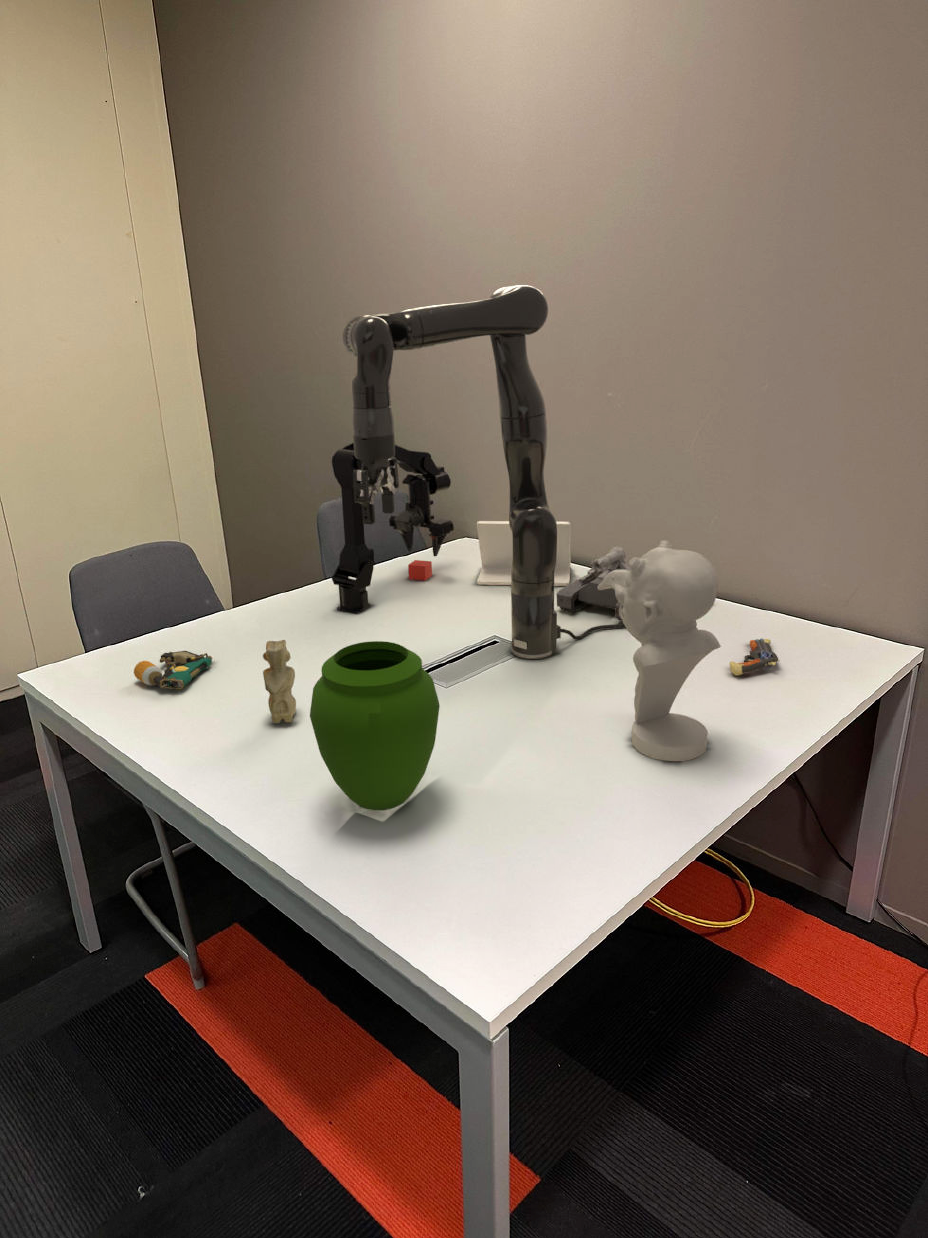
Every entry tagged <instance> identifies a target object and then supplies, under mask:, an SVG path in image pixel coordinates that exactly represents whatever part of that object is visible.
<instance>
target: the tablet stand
mask: <svg viewBox="0 0 928 1238" xmlns="http://www.w3.org/2000/svg"><path fill="white" fill-rule="evenodd" d="M556 524H557V558H556V567H555V571H554V587H556V586H557V587H566V586H567V585H569V584H570V580H571V579H570V578H571V565H572V564H571V560H572V558H571V522H569V521H556ZM476 531H477V537H478V544H479V551H480V557H481V558H480V559H481V570H480V573H479V575H478V577H477V580H476V581H477V582H476V584H478V585H484V586H485V585H486V586H487V585H489V586H490V585H491V586H511V565H512V560H513V535H512V532H511V529H510V525H509V520H505V521H504V520H477V522H476Z"/></svg>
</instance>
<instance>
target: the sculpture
mask: <svg viewBox="0 0 928 1238" xmlns="http://www.w3.org/2000/svg"><path fill="white" fill-rule="evenodd" d="M265 649H266V650H265V652H264V653H262V659H263V660H264V661H265V662H267V663H268V664H269V667H268V668H265V669H263V671H262V675H263V676H262V677H263V681H264V689H265V690H266V692H268V693H269V696H268V700H267V701H268V703H267V704H268V709H269V712H270V715H271V719H272V723H273V724H280V723H281V721H282V720H283V721H284V723H291V722H292V721H293V717H294V715H295V713H296V710H297V700H296V698H295V697H294V695H293V694H292V693H293V692H292V689H293V687H294V683H295V678H296V672H295V668H294V667H292V666H289V665H287V663H288V662H290V660H291V659H292V658H291V657H292V656H291V653H290V651H289V650H288V648H287V640H286V639H282V640H276V641H275V640H268V641H267V642H266V644H265Z"/></svg>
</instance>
